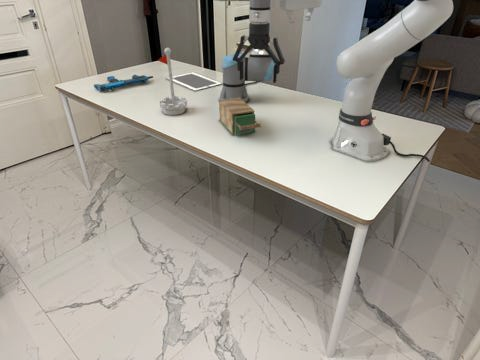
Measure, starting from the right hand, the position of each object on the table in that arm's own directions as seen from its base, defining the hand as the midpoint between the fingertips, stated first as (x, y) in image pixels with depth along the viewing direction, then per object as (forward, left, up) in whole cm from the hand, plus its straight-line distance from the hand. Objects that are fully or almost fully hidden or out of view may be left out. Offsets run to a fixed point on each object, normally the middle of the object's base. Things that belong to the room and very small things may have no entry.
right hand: (299, 21), depth 135 cm
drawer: (+6, +25, -42) cm, 49 cm away
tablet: (+82, +6, -43) cm, 92 cm away
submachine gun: (+104, +43, -43) cm, 120 cm away
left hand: (0, +21, -20) cm, 29 cm away
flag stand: (+45, +38, -43) cm, 72 cm away
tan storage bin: (+12, +23, -43) cm, 50 cm away
